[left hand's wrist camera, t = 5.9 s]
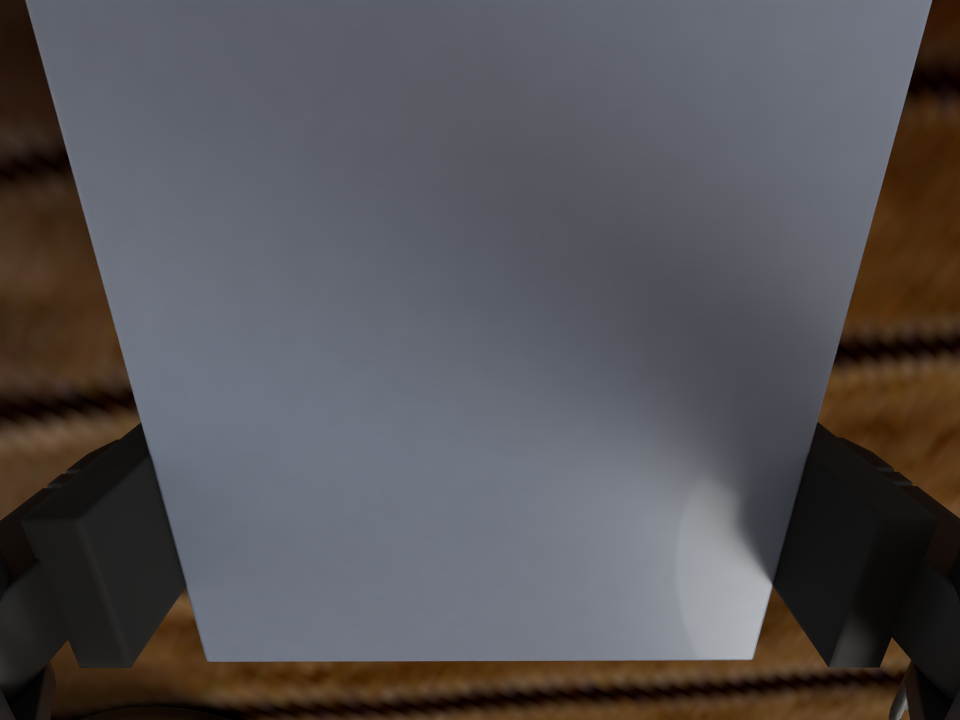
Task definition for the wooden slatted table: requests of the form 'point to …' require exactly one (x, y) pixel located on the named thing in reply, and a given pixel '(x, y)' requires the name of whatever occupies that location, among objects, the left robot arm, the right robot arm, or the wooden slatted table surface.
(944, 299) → the wooden slatted table surface
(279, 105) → the cabinet
